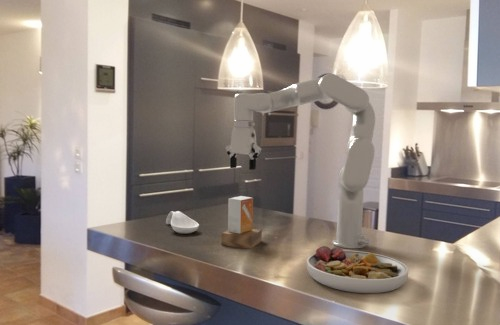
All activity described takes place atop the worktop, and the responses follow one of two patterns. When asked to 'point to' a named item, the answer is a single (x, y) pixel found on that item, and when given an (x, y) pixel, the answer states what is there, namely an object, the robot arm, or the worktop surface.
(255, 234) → the tan block
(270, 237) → the worktop surface
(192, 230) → the spoon rest
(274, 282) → the worktop surface
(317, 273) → the bowl
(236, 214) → the small box
